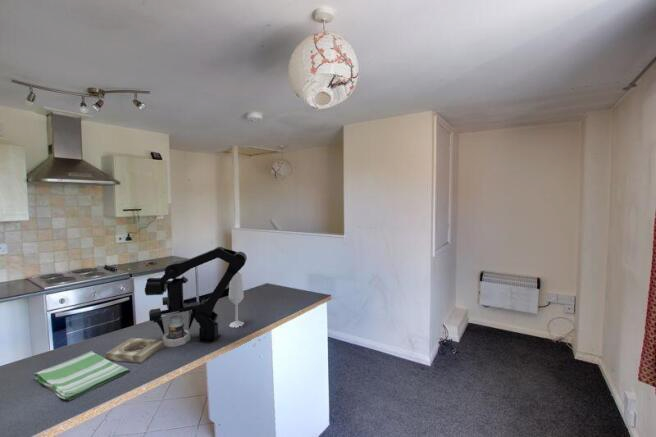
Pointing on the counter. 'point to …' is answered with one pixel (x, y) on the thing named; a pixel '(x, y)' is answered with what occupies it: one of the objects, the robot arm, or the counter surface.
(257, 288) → the counter surface
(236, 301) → the champagne flute
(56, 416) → the counter surface
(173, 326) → the pill bottle
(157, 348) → the socket plate
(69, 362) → the dish towel
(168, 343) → the octagonal ring
